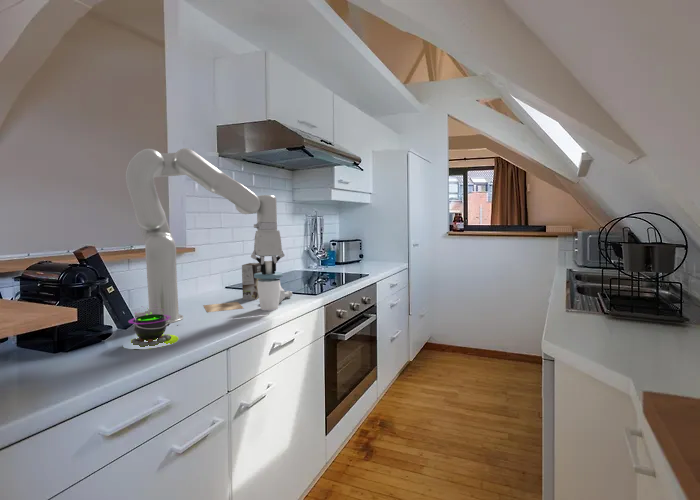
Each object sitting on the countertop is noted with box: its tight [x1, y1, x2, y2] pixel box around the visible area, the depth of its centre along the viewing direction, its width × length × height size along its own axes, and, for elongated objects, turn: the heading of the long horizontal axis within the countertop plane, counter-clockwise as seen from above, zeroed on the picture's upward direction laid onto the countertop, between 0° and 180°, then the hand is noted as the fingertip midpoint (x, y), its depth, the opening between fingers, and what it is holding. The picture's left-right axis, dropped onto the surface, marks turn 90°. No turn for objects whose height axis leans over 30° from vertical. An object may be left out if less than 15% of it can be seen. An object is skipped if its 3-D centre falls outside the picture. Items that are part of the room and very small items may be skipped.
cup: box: [257, 278, 282, 311], centre depth 160 cm, size 9×9×12 cm
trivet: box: [203, 301, 245, 313], centre depth 164 cm, size 14×14×1 cm
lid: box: [254, 260, 283, 279], centre depth 159 cm, size 11×11×6 cm
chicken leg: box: [279, 286, 293, 304], centre depth 177 cm, size 8×18×8 cm, turn 162°
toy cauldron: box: [128, 304, 179, 347], centre depth 120 cm, size 15×15×11 cm
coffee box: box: [241, 262, 261, 301], centre depth 182 cm, size 9×6×16 cm
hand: (268, 273), depth 159 cm, fingers closed on lid, 3 cm apart
